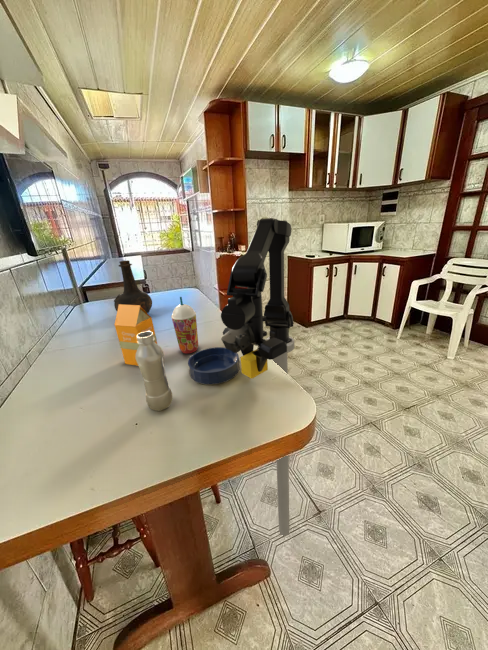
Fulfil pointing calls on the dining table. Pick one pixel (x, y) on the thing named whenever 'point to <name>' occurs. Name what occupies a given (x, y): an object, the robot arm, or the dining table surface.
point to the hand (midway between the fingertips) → (254, 368)
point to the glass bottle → (131, 290)
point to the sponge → (251, 365)
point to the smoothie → (185, 327)
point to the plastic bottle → (153, 372)
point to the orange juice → (131, 329)
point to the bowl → (213, 365)
